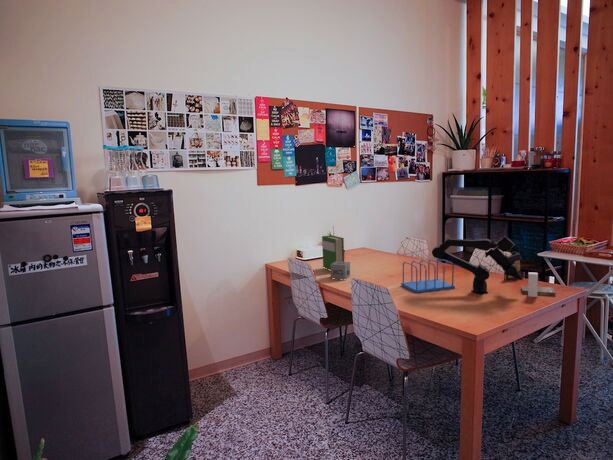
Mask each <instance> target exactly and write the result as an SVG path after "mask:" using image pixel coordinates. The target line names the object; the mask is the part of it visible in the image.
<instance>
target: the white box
mask: <svg viewBox="0 0 613 460" xmlns="http://www.w3.org/2000/svg"><path fill="white" fill-rule="evenodd" d="M527 275H528V281H527V283H528V285H527V286H528V294H527V296H528V297H529V298H530V297H531V298H538V295H537V291H538V287H539V286H538V285H539V284H538V283H539V273H538V272H533V271H532V272H530V271H528V273H527Z"/></svg>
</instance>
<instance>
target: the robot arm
mask: <svg viewBox="0 0 613 460" xmlns="http://www.w3.org/2000/svg"><path fill="white" fill-rule="evenodd" d="M514 246H516V244H515V243H514V242H513V241H512V240H511V239H510V238H508V237H507V236H506V235H504V236H503V237H502V238H501V239H500V240H498V241H492V240H491V239H489V238H479V239H463V238H462V239H461V238H451V237H449V238H447V239H445V240H444V242H443V243H441V244H440V245H437V246H434V248H432V250H431V254H432V256H433V258H435V259H443V260H446V261H449V262H451V263H453V265H456V266H458V267H460V268H463V269H465V270H466V271H468V272H471V273H472V275H473V276H474V277H473V280H472V289H471V290H470V292H472V293H474V294H477V295H481V294H488V293H489V291H487V290H488V287H487V286H488V284H487V281H486V280H488V279H489V278H490V270H489V268H487V265H482V264H481V263H478V265H477V264H473V263H471V262H469V261H466V260H465V259H462V258H460V257H458V256H456V255H454V254H451V253H450V252H449V251H448V248H450V247H461V248H462V247H463V248H473V249H475V250H476V249H477V250H480V251H484V253H485V257H484V258H488V257H490V258H491V259H492V260H493V261H494V262H495V263H496V264H497V265H498V266H499V267H500V268H501V269H502V270H503V275H504V274H505V275H506V276H507V277H508V276H509V275H510V276H512V277H515V278H517V279H516V280H520V281H523V280H524V279H523V277H522V275H520V274H519V272H518V271H517V265H515V266H514V265H512V264H515V261H517V262H518V260H519V261H521V260H523V258H522V257H521V254H520V252H516V251H511V254H510V255H509V256H508V255H507V254H504V253H503V252H505V253H507V252H508V251H510V250H511V249H512V248H514ZM443 260H442V261H443ZM449 262H448V263H449ZM451 263H450V264H451Z"/></svg>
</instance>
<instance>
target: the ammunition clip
mask: <svg viewBox="0 0 613 460" xmlns="http://www.w3.org/2000/svg"><path fill="white" fill-rule="evenodd" d="M520 261H521V260H518V261H515V264H512V265H514V266H515V265H517V271H518V272H519V274H520V275H521V274H522V273H521V262H520ZM503 276H504V277H503V280H505V281H510V280H518V279H517V278H515V277H512V276H510V275H509V276H508V277H507V276H506V275H505V274H504V273H503ZM521 276H522V275H521Z"/></svg>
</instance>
